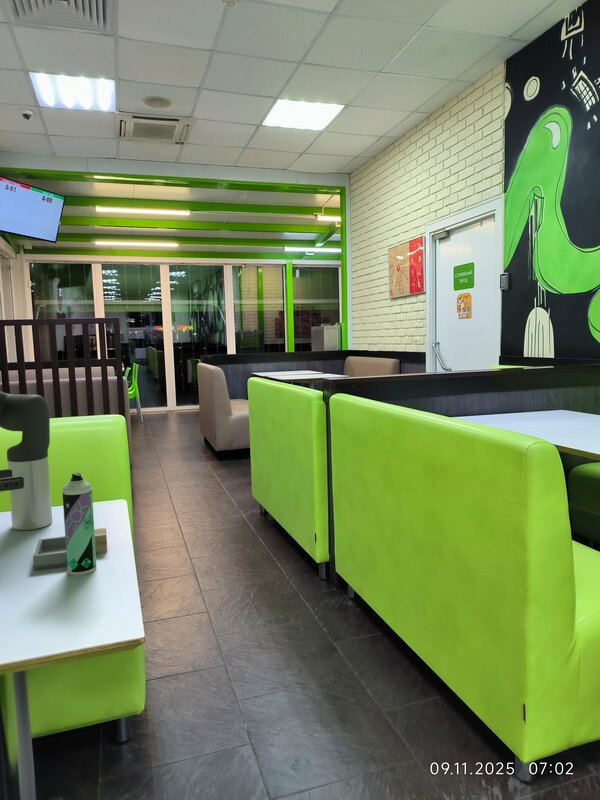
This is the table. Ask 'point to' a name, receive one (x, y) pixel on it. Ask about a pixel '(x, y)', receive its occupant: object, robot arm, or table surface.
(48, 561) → the tray
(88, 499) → the spray can
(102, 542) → the chock block
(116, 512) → the table surface
